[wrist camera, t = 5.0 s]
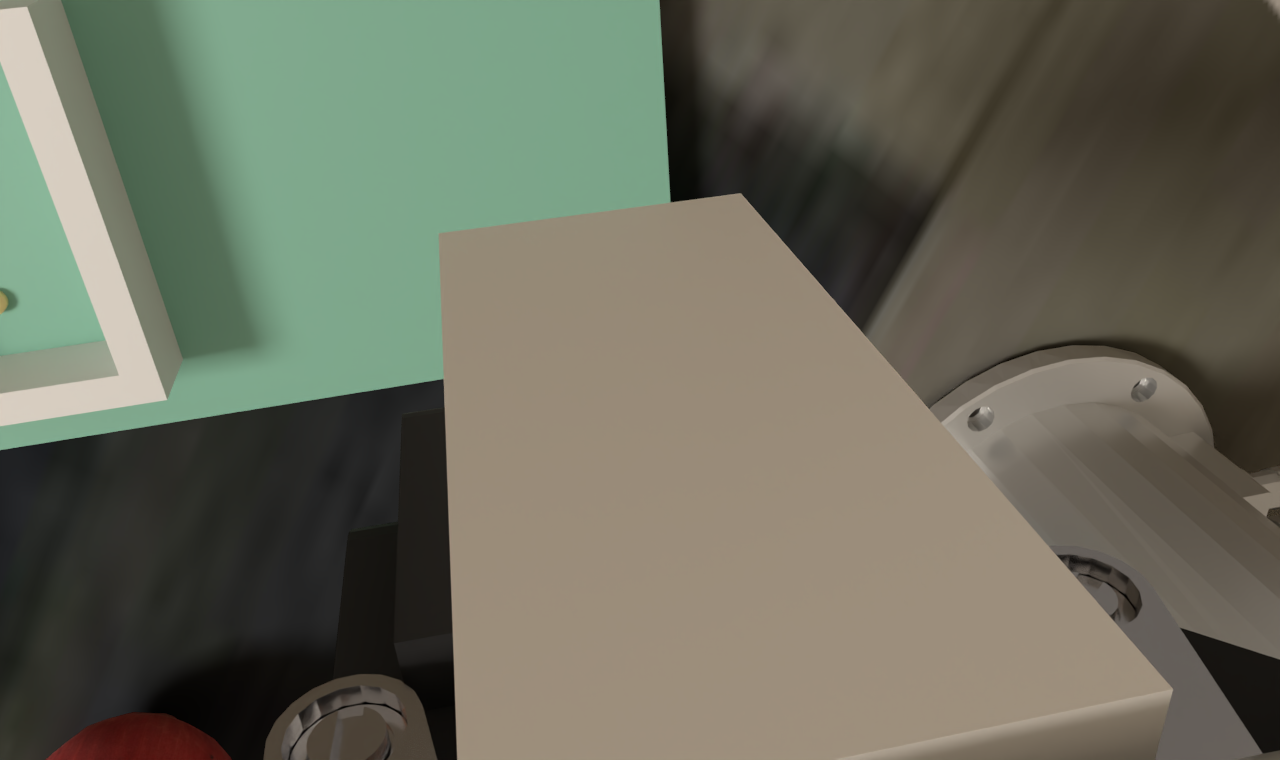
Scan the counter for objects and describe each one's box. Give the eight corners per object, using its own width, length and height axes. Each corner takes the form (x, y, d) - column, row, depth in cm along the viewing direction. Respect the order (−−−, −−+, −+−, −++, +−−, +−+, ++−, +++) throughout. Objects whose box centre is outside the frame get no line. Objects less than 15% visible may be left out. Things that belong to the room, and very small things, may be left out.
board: (640, -158, 22) (672, -154, 20) (669, 325, 28) (696, 376, 26) (-377, -71, 19) (-493, -52, 17) (-102, 447, 25) (-158, 518, 23)
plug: (740, 193, 13) (1171, 689, 6) (749, 554, 16) (1039, 1201, 9) (438, 233, 13) (460, 837, 5) (504, 597, 16) (579, 1327, 8)
